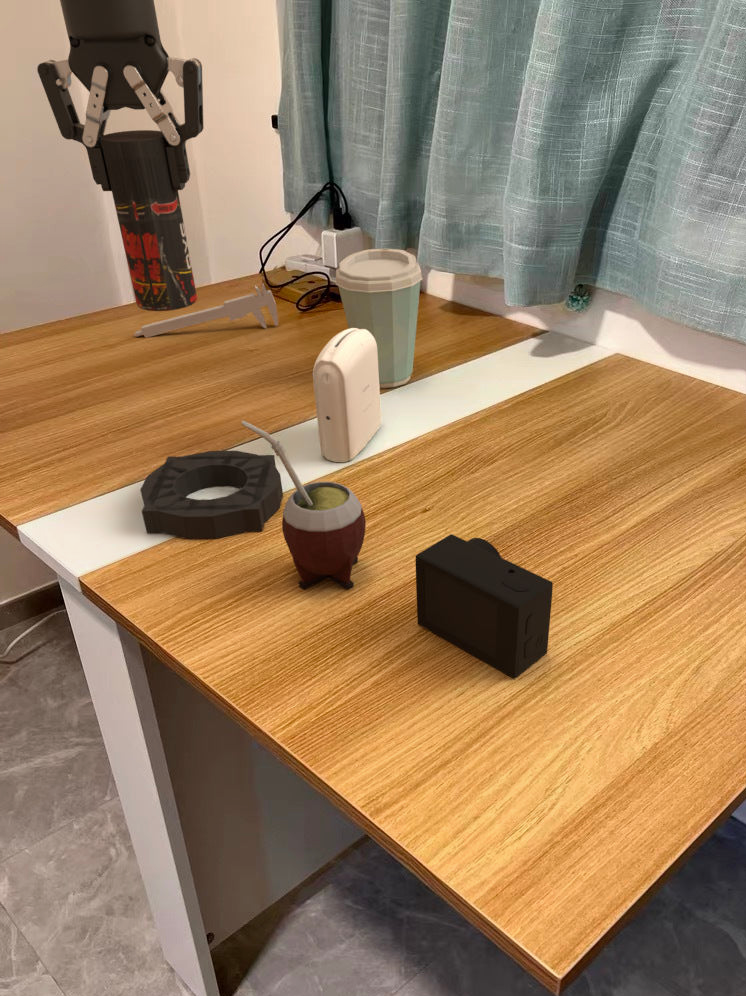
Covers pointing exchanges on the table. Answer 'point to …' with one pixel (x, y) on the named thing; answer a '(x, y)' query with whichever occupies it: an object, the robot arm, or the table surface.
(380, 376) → the disposable coffee cup
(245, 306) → the caliper
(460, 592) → the digital camera
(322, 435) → the photo printer
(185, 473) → the dock pad
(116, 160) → the deodorant
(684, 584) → the table surface
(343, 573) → the mate gourd
